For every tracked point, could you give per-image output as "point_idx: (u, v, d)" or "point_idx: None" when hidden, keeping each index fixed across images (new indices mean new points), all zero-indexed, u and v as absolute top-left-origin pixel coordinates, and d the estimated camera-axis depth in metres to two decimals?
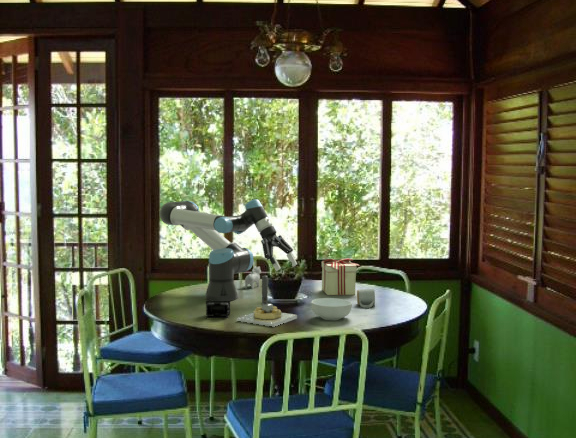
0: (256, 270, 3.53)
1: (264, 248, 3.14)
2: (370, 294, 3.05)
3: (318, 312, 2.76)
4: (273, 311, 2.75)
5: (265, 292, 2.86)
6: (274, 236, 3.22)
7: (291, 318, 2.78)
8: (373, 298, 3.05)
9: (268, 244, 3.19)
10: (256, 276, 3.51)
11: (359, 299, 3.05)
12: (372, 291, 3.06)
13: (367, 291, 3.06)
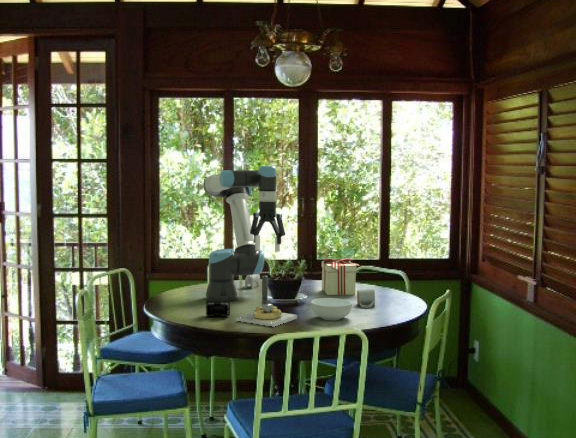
0: None
1: None
2: (370, 294, 3.05)
3: (318, 312, 2.76)
4: (273, 311, 2.75)
5: (265, 292, 2.86)
6: (269, 211, 2.97)
7: (291, 318, 2.78)
8: (373, 298, 3.04)
9: None
10: (256, 276, 3.51)
11: (359, 299, 3.05)
12: (372, 291, 3.06)
13: (367, 291, 3.06)
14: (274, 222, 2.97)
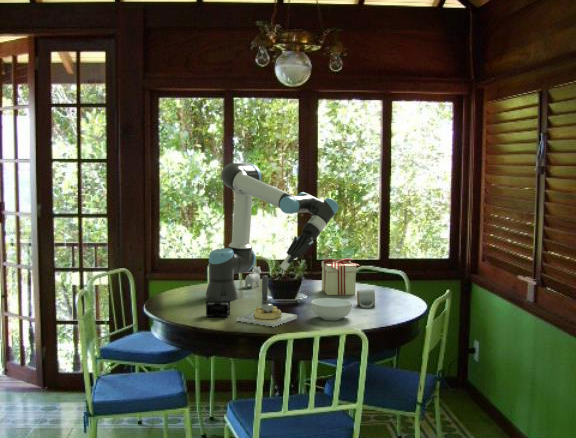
0: (256, 270, 3.53)
1: None
2: (370, 294, 3.04)
3: (318, 312, 2.76)
4: (273, 311, 2.75)
5: (265, 292, 2.86)
6: (310, 233, 2.95)
7: (291, 318, 2.78)
8: (373, 298, 3.04)
9: None
10: (256, 276, 3.51)
11: (359, 299, 3.05)
12: (372, 291, 3.05)
13: (367, 291, 3.06)
14: (303, 245, 2.94)
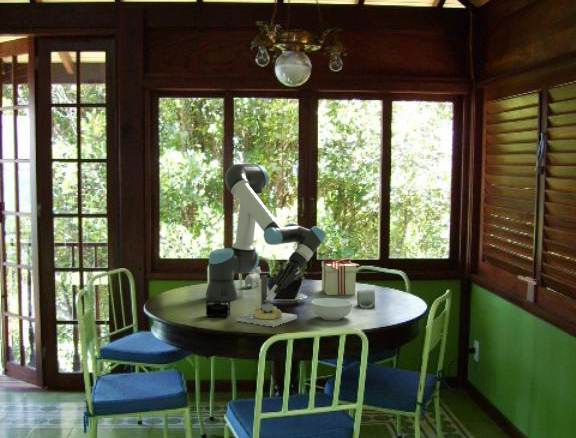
0: (256, 270, 3.53)
1: None
2: (370, 294, 3.04)
3: (318, 312, 2.76)
4: (273, 311, 2.75)
5: (264, 292, 2.85)
6: (296, 263, 2.92)
7: (291, 318, 2.78)
8: (373, 299, 3.03)
9: None
10: (256, 276, 3.51)
11: (359, 300, 3.04)
12: (372, 292, 3.04)
13: (367, 292, 3.05)
14: (289, 275, 2.91)
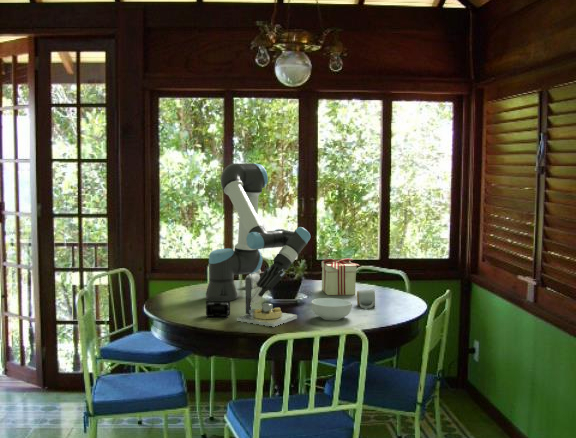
0: None
1: None
2: (370, 295, 3.03)
3: (318, 312, 2.76)
4: (276, 309, 2.79)
5: (250, 294, 2.81)
6: (281, 264, 2.87)
7: (291, 318, 2.78)
8: (373, 299, 3.03)
9: None
10: (256, 276, 3.51)
11: (359, 300, 3.04)
12: (372, 292, 3.04)
13: (367, 292, 3.04)
14: (274, 277, 2.86)
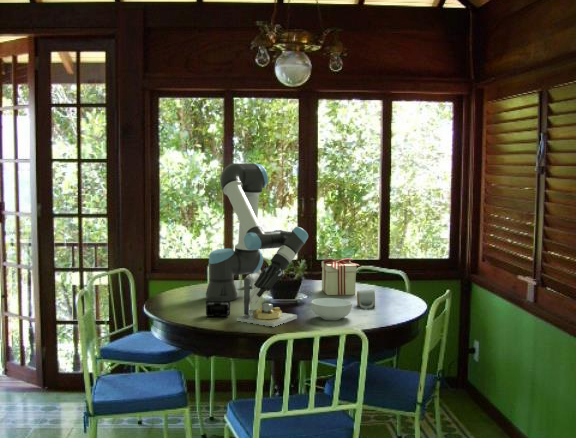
0: None
1: None
2: (370, 295, 3.03)
3: (318, 312, 2.76)
4: (276, 309, 2.79)
5: (249, 294, 2.80)
6: (278, 265, 2.86)
7: (291, 318, 2.78)
8: (373, 299, 3.02)
9: None
10: (256, 276, 3.51)
11: (359, 300, 3.03)
12: (372, 292, 3.04)
13: (367, 292, 3.04)
14: (272, 277, 2.85)
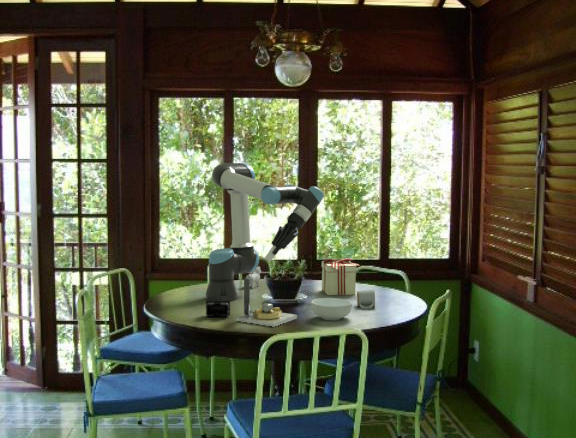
0: (256, 270, 3.53)
1: None
2: (370, 295, 3.02)
3: (318, 312, 2.76)
4: (276, 309, 2.79)
5: (249, 294, 2.80)
6: (295, 223, 2.91)
7: (291, 318, 2.78)
8: (373, 299, 3.02)
9: None
10: (256, 276, 3.51)
11: (359, 300, 3.03)
12: (372, 292, 3.03)
13: (367, 292, 3.04)
14: (288, 236, 2.91)
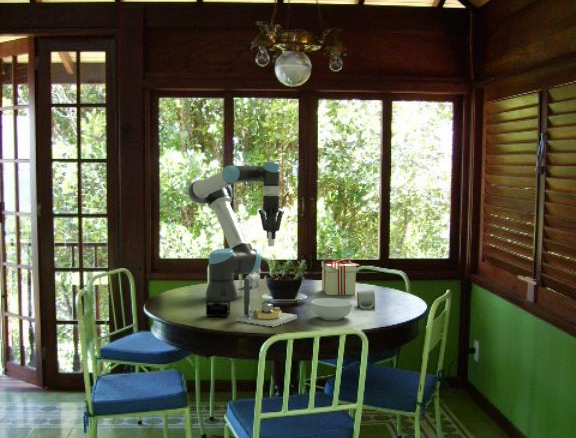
0: None
1: None
2: (370, 295, 3.02)
3: (318, 312, 2.76)
4: (276, 309, 2.79)
5: (249, 294, 2.80)
6: (274, 204, 3.08)
7: (291, 318, 2.78)
8: (373, 300, 3.01)
9: None
10: (256, 276, 3.51)
11: (359, 301, 3.02)
12: (372, 292, 3.02)
13: (367, 292, 3.03)
14: (274, 217, 3.10)
